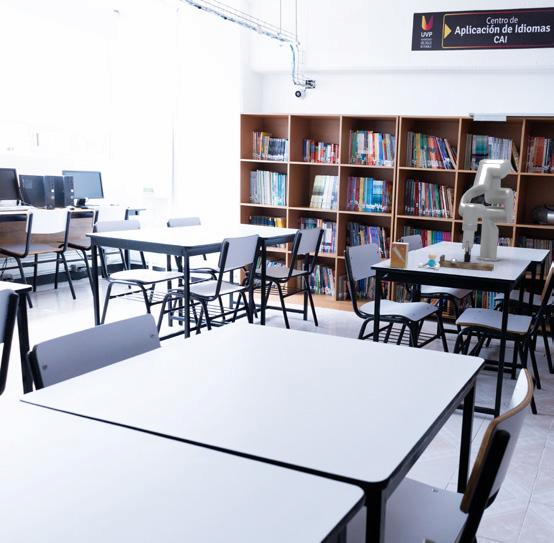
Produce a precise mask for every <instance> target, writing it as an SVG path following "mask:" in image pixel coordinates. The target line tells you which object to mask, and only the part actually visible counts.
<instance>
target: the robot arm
mask: <svg viewBox="0 0 554 543" xmlns="http://www.w3.org/2000/svg"><path fill="white" fill-rule="evenodd" d="M511 169H512V164H511V161H510V160H509V159H507V158H506V159H503V158H501V159H500V158H484V159H481V160H480V161H479V162H478V168H477V171H476V174H475V178H474V182H473V185H472V187H471V188H469V189H468V190H466V192H465V193H464V194H463V195H462V196H461V199H460V202H459V206H458V214H459V216H460V217H462V224H461V225H462V227H461V230H462V231H463V236H462V244H461V249H462V250H464V255H463V262H471V255H472V249H473V248H474V242H475V241H474V240H475V232H477V231H478V219H481V234H480V246H479V256H477V257H476V260H479V261H488V262H489V261H490V262H495V261H497V262H498V261H500V258H499V257H497V255H498V246H499V245H498V243H499V242H498V241H499V227H498V226H497V225H496V224H497V223H498V224H510V223H512V221H513V218H514V201H515V199H514V197H515V196H514V191H513V189H512V188H509V187H501V185H502V184H501V180H502V179H504V178H506V177H507V176H508V175H509V174H510V172H511ZM483 194H484V201H485V203H487V204H489V205H488V206H485V204H482V203H469V202H470V201H471V199H473V198H474V199H475V198H476V197H478V196H481V195H483ZM500 205H502V206H500Z"/></svg>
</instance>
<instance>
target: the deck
mask: <svg viewBox="0 0 554 543" xmlns="http://www.w3.org/2000/svg"><path fill="white" fill-rule="evenodd" d="M445 258H446V254H441V255H440V256H439V261H438V262H437V263H439V264H440V267H439V268H450V269H451V268H452V269H460V268H461V270H472V271H484V270H485V272H493V271H494V269H495V268H494V267H495V263H485V262H484V263H483V262H475V261H474V262H473V261H472V262H471V261H470V262H464V261H462V260H461V261H459V260H457V261H458V263H451V262H450V260H447V259H445ZM492 270H493V271H492Z"/></svg>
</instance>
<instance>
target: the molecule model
mask: <svg viewBox="0 0 554 543" xmlns="http://www.w3.org/2000/svg"><path fill="white" fill-rule="evenodd" d="M427 257H428V259H429V260H428V261H427V262H426V263H422V262H419V263H418V264H417V267H418V268H420V269H422V268H424V267H426V266H429V267H430V268H433V269H434V270H435V271H439V270H440V268H441V267H440V264H439V263H438V262H436V261H435V260H436V258H437V254H436V253H435V252H430V253H429V254H428V256H427Z"/></svg>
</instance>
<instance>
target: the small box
mask: <svg viewBox="0 0 554 543" xmlns="http://www.w3.org/2000/svg"><path fill="white" fill-rule="evenodd" d="M409 247H410V242H397V241H393V242H392V243H391V248H390V263H389V264H390V265H389V268H393V267H395V269H403V268H405V269H407V268H408V263H409V262H408V261H409V251H410V250H409Z"/></svg>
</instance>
